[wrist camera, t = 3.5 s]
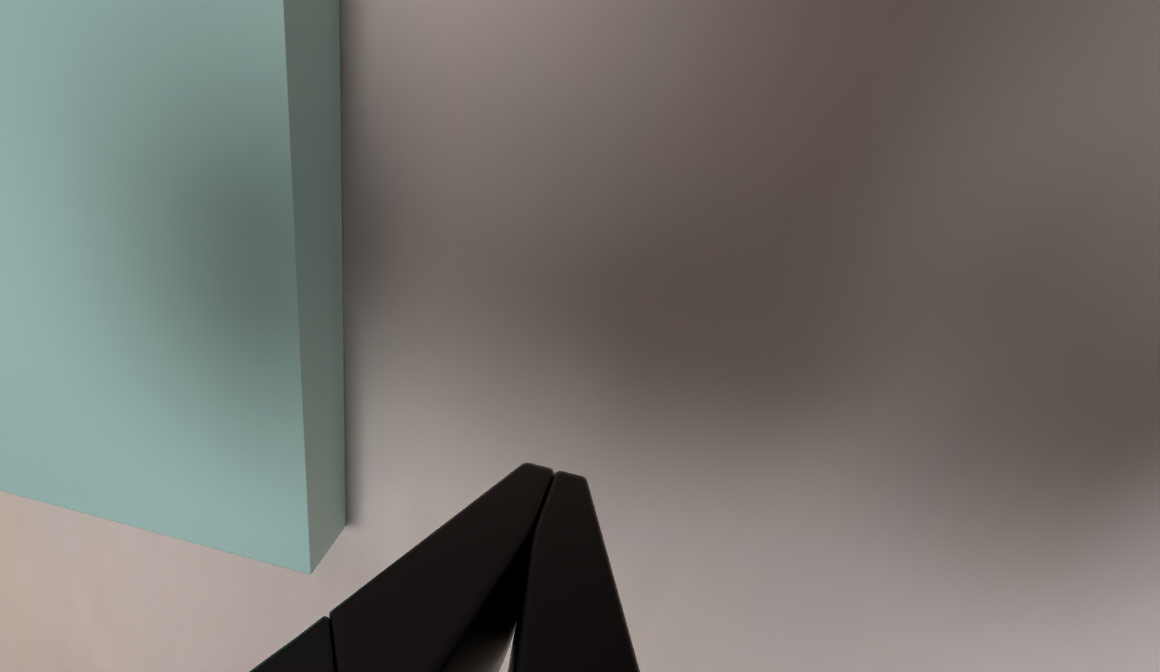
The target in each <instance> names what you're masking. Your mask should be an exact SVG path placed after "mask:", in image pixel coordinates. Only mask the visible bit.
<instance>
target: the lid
mask: <svg viewBox="0 0 1160 672" xmlns="http://www.w3.org/2000/svg"><path fill="white" fill-rule="evenodd" d="M0 490H1V491H5V492H8V493H12V494H16V495H19V496H23V497H27V498H30V499H34V500H38V501H41V502H45V503H49V504H52V505H56V506H60V507H64V508H67V509H71V510H75V511H78V512H82V513H86V514H89V515H93V516H97V517H100V518H104V519H108V520H111V521H115V522H119V523H122V524H126V525H130V526H133V527H137V528H141V529H145V530H148V531H152V532H156V533H159V534H163V535H167V536H170V537H174V538H178V539H181V540H185V541H189V542H192V543H196V544H200V545H203V546H207V547H211V548H214V549H218V550H222V551H226V552H229V553H233V554H237V555H240V556H244V557H248V558H251V559H255V560H259V561H262V562H266V563H270V564H273V565H277V566H281V567H284V568H288V569H292V570H295V571H299V572H303V573H307V574H310V575H311V573H312V572H313V571H314V569H315V568H316V567H317V565H318V564H319V562H320V561H321V560H322V558H323V557H324V555H325V554H326V553H327V551H328V550H329V548H330V547H331V546H332V544H333V543H334V541H335V540H336V539H337V537H338V536H339V534H340V533H341V532H342V530H343V529H344V527H345V526H346V508H345V425H344V343H343V260H342V177H341V95H340V12H339V0H0Z"/></svg>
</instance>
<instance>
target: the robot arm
mask: <svg viewBox="0 0 1160 672" xmlns="http://www.w3.org/2000/svg"><path fill="white" fill-rule="evenodd" d="M514 631H515V633H514ZM513 634H514V639H513V644H512V650H511V655H510V661H509V668H508V672H640V670H639V666H638V663H637V659H636V656H635V652H634V648H633V645H632V641H631V638H630V634H629V630H628V627H627V623H626V619H625V616H624V612H623V609H622V605H621V601H620V598H619V594H618V591H617V587H616V583H615V580H614V576H613V572H612V569H611V565H610V562H609V558H608V554H607V551H606V547H605V543H604V540H603V536H602V533H601V529H600V525H599V522H598V518H597V515H596V511H595V507H594V504H593V500H592V496H591V493H590V489H589V486H588V482H587V480H586V478H584V477H583V476H580V475H576V474H572V473H568V472H564V471H558V472H556V473H555V474H554V471H553V470H552V469H551V468H548V467H544V466H540V465H536V464H532V463H524V464H522V465H520V466H519V467H518V468H517V469H515V470H514V471H513V472H511V473H510V474H509V475H507V476H506V477H505V478H504V479H502V480H501V481H500V482H498V483H497V484H496V485H494V486H493V487H492V488H491V489H489V490H488V491H487V492H485V493H484V494H483V495H481V496H480V497H479V498H478V499H476V500H475V501H474V502H472V503H471V504H470V505H468V506H467V507H466V508H465V509H463V510H462V511H461V512H459V513H458V514H457V515H455V516H454V517H453V518H452V519H450V520H449V521H448V522H446V523H445V524H444V525H442V526H441V527H440V528H439V529H437V530H436V531H435V532H433V533H432V534H431V535H429V536H428V537H427V538H426V539H424V540H423V541H422V542H420V543H419V544H418V545H416V546H415V547H414V548H413V549H411V550H410V551H409V552H407V553H406V554H405V555H403V556H402V557H401V558H399V559H398V560H397V561H396V562H394V563H393V564H392V565H390V566H389V567H388V568H386V569H385V570H384V571H383V572H381V573H380V574H379V575H377V576H376V577H375V578H373V579H372V580H371V581H370V582H368V583H367V584H366V585H364V586H363V587H362V588H360V589H359V590H358V591H357V592H355V593H354V594H353V595H351V596H350V597H349V598H347V599H346V600H345V601H344V602H342V603H341V604H340V605H338V606H337V607H336V608H334V609H333V610H332V611H331V612H330V613H329V618H328V617H326V616H324V617H322V618H321V619H319V620H318V621H317V622H316V623H314V624H313V625H312V626H311V627H309V628H308V629H307V630H305V631H304V632H303V633H301V634H300V635H299V636H298V637H296V638H295V639H294V640H292V641H291V642H289V643H288V644H287V645H285V646H284V647H283V648H281V649H280V650H278V651H277V652H276V653H274V654H273V655H272V656H270V657H269V658H267V659H266V660H265V661H263V662H262V663H261V664H259V665H258V666H256V667H255V668H254V669H252V670H251V671H250V672H499V670H500V668H501V666H502V663H503V661H504V658H505V656H506V653H507V651H508V648H509V646H510V643H511V640H512V637H513Z"/></svg>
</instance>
